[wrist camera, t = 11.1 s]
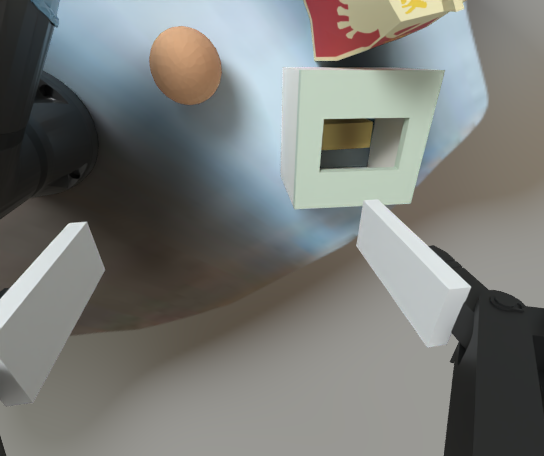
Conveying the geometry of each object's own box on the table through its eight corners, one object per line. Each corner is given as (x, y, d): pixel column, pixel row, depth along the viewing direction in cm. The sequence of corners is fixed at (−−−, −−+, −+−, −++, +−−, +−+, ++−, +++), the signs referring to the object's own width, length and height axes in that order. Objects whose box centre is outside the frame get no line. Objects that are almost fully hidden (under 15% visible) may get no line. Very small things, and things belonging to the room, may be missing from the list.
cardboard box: (310, 138, 41) (322, 150, 36) (311, 116, 40) (323, 124, 35) (352, 136, 42) (369, 147, 37) (354, 113, 40) (373, 122, 35)
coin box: (280, 176, 43) (294, 209, 34) (282, 67, 36) (301, 70, 27) (372, 172, 45) (410, 203, 35) (391, 67, 38) (445, 70, 28)
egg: (161, 97, 37) (144, 107, 29) (155, 26, 33) (133, 16, 26) (222, 102, 38) (220, 113, 30) (222, 33, 34) (220, 26, 27)
